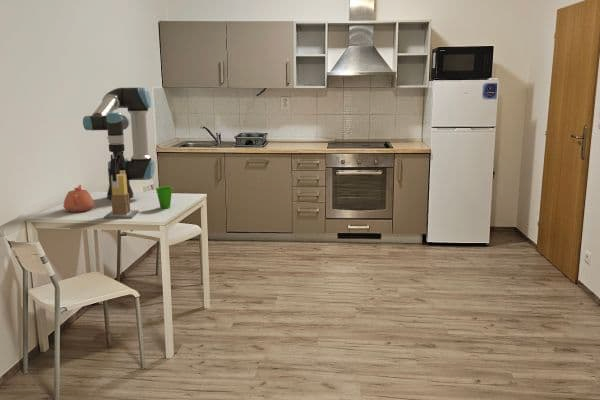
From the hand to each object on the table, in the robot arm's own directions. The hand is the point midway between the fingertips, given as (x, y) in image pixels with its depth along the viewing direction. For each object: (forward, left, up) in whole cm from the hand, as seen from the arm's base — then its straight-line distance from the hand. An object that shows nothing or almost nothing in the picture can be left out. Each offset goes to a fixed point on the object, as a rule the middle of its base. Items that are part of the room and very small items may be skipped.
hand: (119, 185), depth 281 cm
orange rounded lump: (-15, -27, -16) cm, 35 cm away
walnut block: (0, 0, -15) cm, 15 cm away
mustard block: (0, 0, -5) cm, 5 cm away
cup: (-17, +19, -16) cm, 30 cm away
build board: (0, 0, -16) cm, 16 cm away
